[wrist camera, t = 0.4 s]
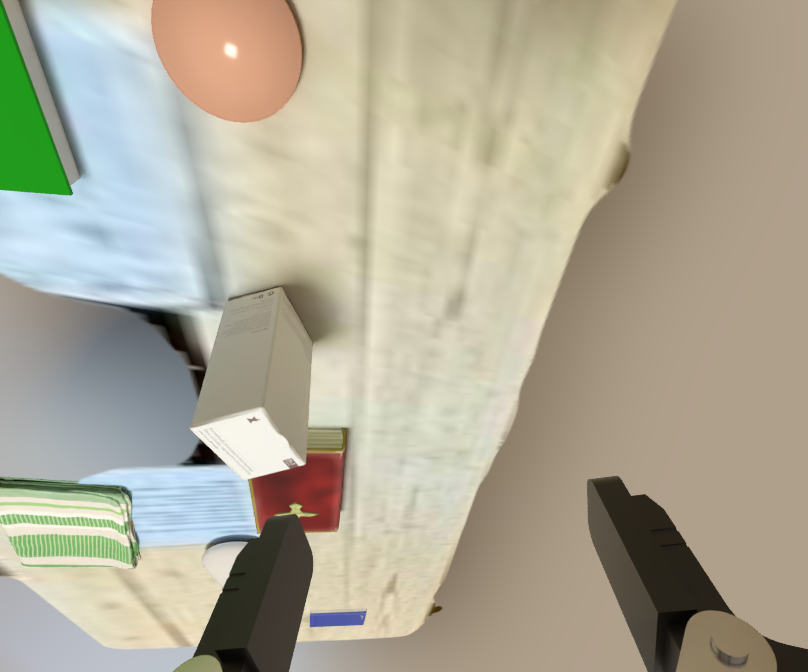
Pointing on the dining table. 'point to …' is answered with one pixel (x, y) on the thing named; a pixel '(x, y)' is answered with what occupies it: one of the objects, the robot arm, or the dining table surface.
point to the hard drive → (337, 617)
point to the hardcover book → (305, 485)
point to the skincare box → (257, 387)
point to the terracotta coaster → (230, 54)
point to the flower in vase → (221, 560)
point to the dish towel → (68, 523)
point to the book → (29, 116)
